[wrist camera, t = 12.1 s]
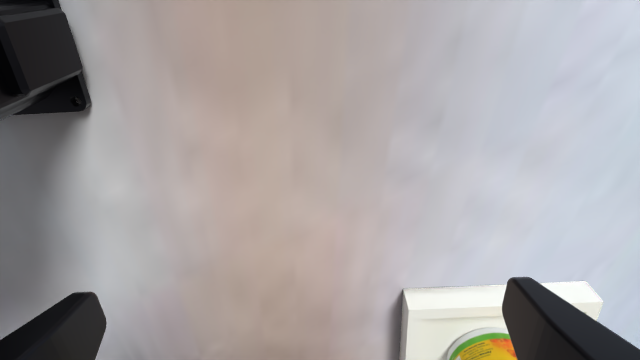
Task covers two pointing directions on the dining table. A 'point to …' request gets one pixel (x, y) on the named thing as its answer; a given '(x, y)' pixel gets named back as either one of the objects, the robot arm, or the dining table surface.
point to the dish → (468, 314)
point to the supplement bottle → (483, 345)
